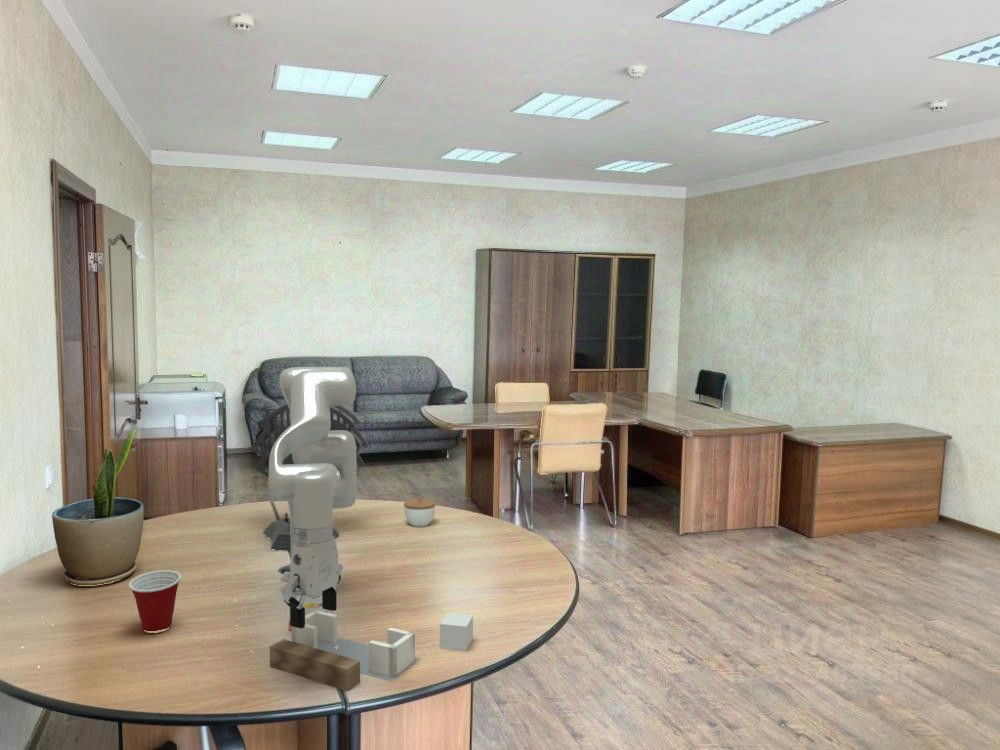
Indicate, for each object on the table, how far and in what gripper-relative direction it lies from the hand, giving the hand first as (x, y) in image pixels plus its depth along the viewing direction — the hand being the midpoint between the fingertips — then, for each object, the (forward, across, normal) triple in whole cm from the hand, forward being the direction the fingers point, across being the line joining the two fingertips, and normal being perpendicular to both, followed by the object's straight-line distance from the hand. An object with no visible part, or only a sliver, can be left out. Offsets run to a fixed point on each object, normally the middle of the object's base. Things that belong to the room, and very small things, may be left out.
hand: (314, 617), depth 148 cm
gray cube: (+12, +26, -18) cm, 34 cm away
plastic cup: (+12, +2, +46) cm, 48 cm away
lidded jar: (+10, +101, +36) cm, 108 cm away
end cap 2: (+12, +11, -12) cm, 20 cm away
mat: (+12, +11, -2) cm, 16 cm away
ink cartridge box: (+12, +18, +16) cm, 26 cm away
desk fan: (+10, +69, +60) cm, 91 cm away
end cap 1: (+12, +11, +8) cm, 18 cm away
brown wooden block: (+13, +1, 0) cm, 13 cm away
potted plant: (+11, +18, +86) cm, 89 cm away
